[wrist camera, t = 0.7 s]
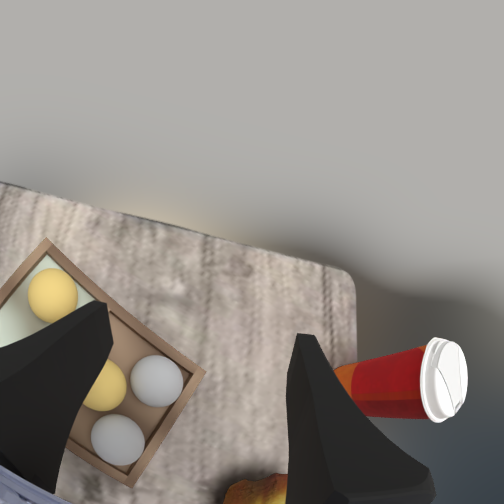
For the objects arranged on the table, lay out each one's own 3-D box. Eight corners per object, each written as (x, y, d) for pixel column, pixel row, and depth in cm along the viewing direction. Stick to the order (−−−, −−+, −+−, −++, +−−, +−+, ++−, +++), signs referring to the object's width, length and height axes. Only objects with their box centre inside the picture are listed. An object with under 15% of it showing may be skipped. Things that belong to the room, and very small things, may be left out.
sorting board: (128, 482, 20) (132, 489, 18) (-37, 349, 16) (-44, 347, 15) (200, 371, 26) (207, 371, 25) (47, 243, 23) (46, 236, 22)
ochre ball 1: (58, 337, 21) (54, 331, 18) (22, 302, 20) (13, 290, 17) (87, 299, 23) (89, 287, 20) (52, 266, 22) (49, 249, 19)
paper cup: (371, 404, 34) (474, 395, 23) (328, 433, 30) (442, 438, 19) (355, 347, 36) (459, 322, 25) (309, 369, 32) (425, 352, 21)
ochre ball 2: (106, 417, 21) (110, 426, 17) (64, 386, 20) (61, 389, 17) (132, 378, 23) (141, 380, 20) (92, 347, 22) (93, 343, 19)
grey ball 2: (158, 413, 23) (171, 420, 20) (117, 385, 22) (123, 388, 19) (183, 375, 25) (200, 375, 22) (144, 346, 24) (155, 342, 21)
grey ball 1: (124, 466, 20) (132, 482, 16) (80, 438, 19) (81, 451, 16) (148, 429, 22) (160, 438, 19) (106, 401, 21) (110, 406, 18)
